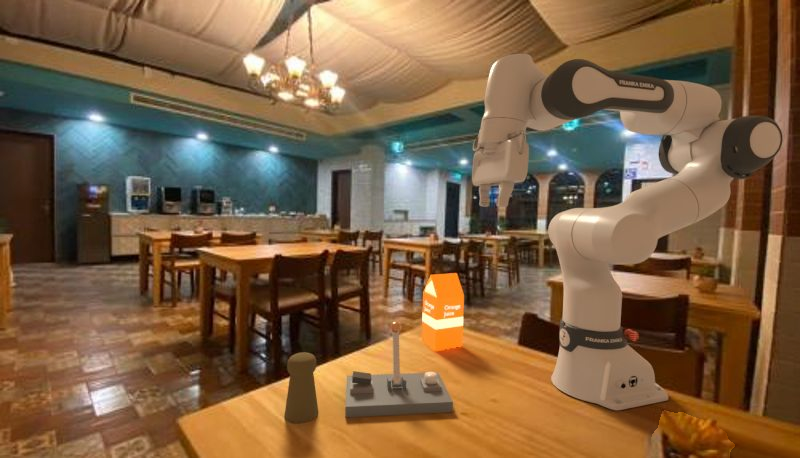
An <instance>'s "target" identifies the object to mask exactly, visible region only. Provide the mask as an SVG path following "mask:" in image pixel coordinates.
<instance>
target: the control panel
mask: <svg viewBox="0 0 800 458" xmlns="http://www.w3.org/2000/svg"><path fill="white" fill-rule="evenodd" d="M425 373H426V372H416V373H415V372H413V373H400V376H401V378H402V386H401V387H392V376H393V373H389V374H387V373H385V374H384V373H383V374H382V373H381V374H371V384H370V385H365V384H357V383H352V375H346V383H345V408H344V410H345V412H344V413H345V414H344V415H345V417H344V418H362V417H363V418H365V417H384V416H385V417H386V416H403V415H404V416H406V415H422V414H440V413H441V414H445V413H453V411H454V406H453V405H454V401H453V399H452V397H451V394H450V393H449V391H448V389H447V387H446V385H445V383H444V381H443V379H442V377H441V375H440V372H436V373H437V383H436V384H427V383H425V381H424V379H425Z"/></svg>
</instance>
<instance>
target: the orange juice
mask: <svg viewBox="0 0 800 458" xmlns="http://www.w3.org/2000/svg"><path fill="white" fill-rule="evenodd" d="M422 294H423V295H422V312H421V313H422V315H421V318H422V319H421V322H422V324H421V325H422V327H421V342H422V343H423V344H424V343H425V344H424V345H426V346H427V347H428V346H429V347H428V348H429V349H431V350H432V351H433V352H435V351H436V352H440V351H445V349H447V350H451V349H450V348H453V349H457V348H456V347H459V348H462V347H463V340H464V339H463V338H464V337H463V334H464V332H463V331H464V308H465V305H464V304H465V294H464V291H463V288H462V285H461V282H460V279H459V275H458V273H457V272H453V273H452V272H451V273H435V274H430V275H429V278H428V280H427V283H426V285H425V288H424V290H423V292H422ZM461 346H462V347H461Z"/></svg>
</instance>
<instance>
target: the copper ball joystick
mask: <svg viewBox="0 0 800 458" xmlns="http://www.w3.org/2000/svg"><path fill="white" fill-rule="evenodd" d="M389 330H390V332H392V372H393V373H392V374H393V376H392V387H401V386H402V378H401V376H400V374H401V371H400V370H401V368H400V367H401V366H400V333H401V330H402V325H401V323H400V322H398V321H393V322H391V323H390V325H389Z"/></svg>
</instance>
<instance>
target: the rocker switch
mask: <svg viewBox="0 0 800 458" xmlns="http://www.w3.org/2000/svg"><path fill="white" fill-rule="evenodd" d="M371 375H372V373H368V372H364V371H362V372H361V371H354V370H353V371H352V375H351V376H352V383H357V384H365V385H370V384H371Z"/></svg>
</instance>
